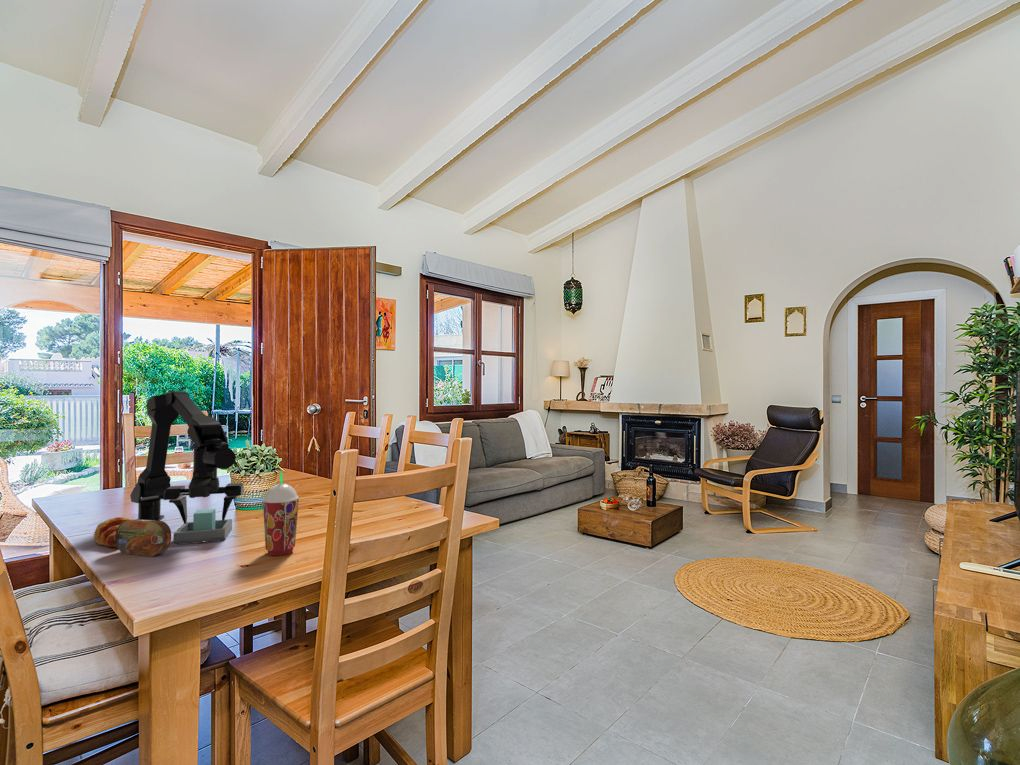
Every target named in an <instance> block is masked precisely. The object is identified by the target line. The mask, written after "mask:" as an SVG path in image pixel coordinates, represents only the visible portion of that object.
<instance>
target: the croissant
mask: <svg viewBox="0 0 1020 765" xmlns="http://www.w3.org/2000/svg"><path fill="white" fill-rule="evenodd" d="M127 520H135V519H134V518H130V517H129V518H128V517H126V516H125V517H123V516H118V517H113V518H112V517H111V518H109V519H107V520H104V521H103V522H100V523H99V524H97V527H96V529H95V530H94V533H93V539H94V541H96V542H97V544H98V545H101V546H106V547H109V548H110V547H111V548H117V545H116V542H115V534H116V530H117V528H118V526H119V525H120V524H121V523H122V522H124V521H127Z"/></svg>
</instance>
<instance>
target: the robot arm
mask: <svg viewBox="0 0 1020 765" xmlns="http://www.w3.org/2000/svg"><path fill="white" fill-rule="evenodd" d="M146 413H147V414H146V415H147V416H148V417H149V420H150V421H151V422H152V423H151V424H152V425H151V430H150V438H149V444H148V451H147V452H148V453H147V459H146V467H145V468H144V470H143V471H142V472H141V473H140V474H139V475H138V478H137V483H136V484H135V485H134V487H133V489H132V491H131V493H130V495H129V496H130V502H131V503H135V504H138V505H137V506H138V509H137V512H138V513H137V515H138V516H137V519H139V520H155V521H162V519H163V518H164V517H165V515H164V514H161V505H162V504H161V501H162V500H163V501H168V502H169V503H171V504H174V506H176V508H177V510H178V512H179V514H180V516H181V519H182V522H183V524H186V523H187V522H188V506H187V505H188V504H187V503H188V500H187V496H188V498H191V499H194V498H208V497H210V495H216V494H217V495H220V494H225V496H224V497H223V507H222V513H221V520H222V521H224V520H226V519H225V518H226V517H227V514H228V511H229V508H230V506H231V504H232V502H233V500H236V499H237V498H238V497H239V496H242V495H243V493H245V492H244V491H245V490H244V484H243V483H242V482H235V483H234V482H233V483H231V482H230V483H228V484H226V485H225V486H220V480H219V477H218V469H219V470H220V469H221V470H228V469H229V468H232V466H233V465H234V464H235V463H236V459H237V455H236V453H235V452H234V450H233V449H232V448H230V447H229V441H228V440H229V438H228V436H227V434H226V433H225V430H224V428H223V426H222V425H221V424H222V423H220V421H218V420H217V419H216V418H215V417H213V416H209V415H206V414H205V413H204V412H203V411H202V410H201V409H200V407H198V405H197V404H196V403H195V401H193V399H192V398H191V397H190V394H189V392H188V391H185V390H180V391H179V390H177V391H176V390H175V391H174V390H173V391H172V390H171V391H168V392H166V393H162V394H158V395H152V396H151V397H149V398H148V399H147V401H146ZM179 417H181V419H182V420H183V421H184V423H185V424H186V425H187V431H186V433H187V434H188V436H189V438H190V439H191V441H192V443H193V444H192V445H191V446H190V449H191V450H193V461H192V462H193V468H192V469H193V471H192V477H191V480H190V482H189V484H188V488H186V486H185V485H171V476H170V475H168V473H167V471H166V461H167V456H168V448H169V441H170V434H171V427H172V425H173V424H174V423H175V421H177V419H178V418H179Z"/></svg>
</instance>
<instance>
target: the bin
mask: <svg viewBox="0 0 1020 765" xmlns="http://www.w3.org/2000/svg"><path fill="white" fill-rule="evenodd" d="M232 530H233V518H228V519H227V518H226V519H225V520H224V521H222V519H215V529H212V530H199V531H193V521H187V523H186V524H184V523H183V524H181V525H180V526H179V527H178V528H177V529H176V531H174V532H173V544H177V545H184V544H183V543H189V544H195V543H194V542H201V543H204V542H203V541H213V542H219V541H218V540H225V541H226V539H227V538H228V536H229V535H230V533H231V532H232ZM230 531H231V532H230ZM228 534H229V535H228ZM226 537H227V538H226Z"/></svg>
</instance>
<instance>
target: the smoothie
mask: <svg viewBox="0 0 1020 765" xmlns="http://www.w3.org/2000/svg"><path fill="white" fill-rule="evenodd" d="M283 475H284V473H283V472H280V473H279V483H277V484H275V485H272V486H271V487H270V488H269V489H268V490H267V491H266V493H265V495H264V497H263V498H262V505H263V526H264V542H265V543H264V546H265V550H266V551H267V554H268V555H269V556H272V555H273V557H274V555H275V557H278V556H277V555H280V556H286V555H288V554H291V553H292V552H293V550H294V548H295V547H296V540H297V539H296V538H297V537H296V536H297V526H298V525H297V524H298V513H299V512H298V511H299V499H300V497H299V495H298V493H297V491H296V490H295V488H294V487H293V486H291V485H290V484H287V483H283V482H284V481H283V479H284V478H283V477H284V476H283ZM285 554H286V555H285Z"/></svg>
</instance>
